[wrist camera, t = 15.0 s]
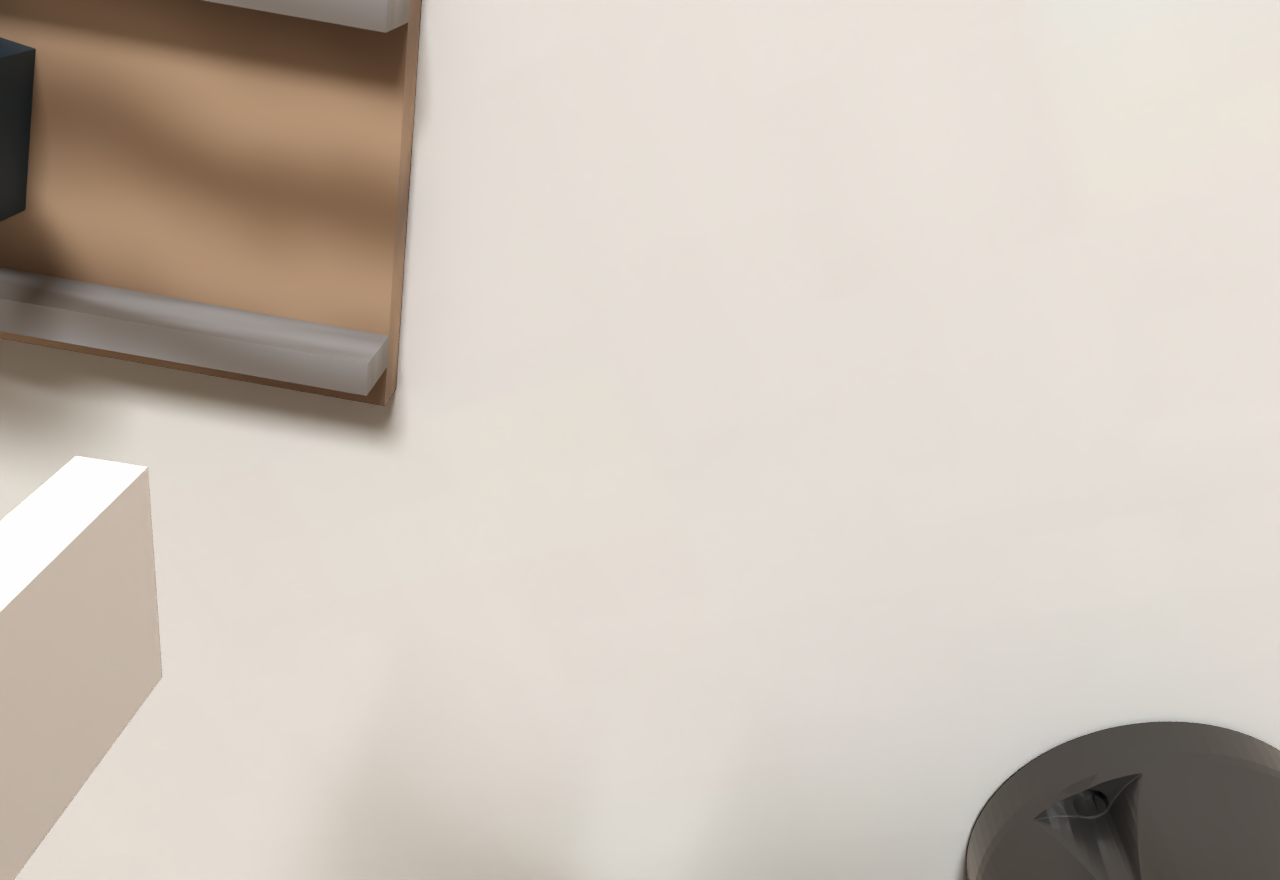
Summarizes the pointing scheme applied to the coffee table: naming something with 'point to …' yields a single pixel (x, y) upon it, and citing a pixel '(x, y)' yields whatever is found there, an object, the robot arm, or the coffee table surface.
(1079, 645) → the coffee table surface
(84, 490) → the robot arm
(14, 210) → the watch
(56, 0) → the wooden tray
